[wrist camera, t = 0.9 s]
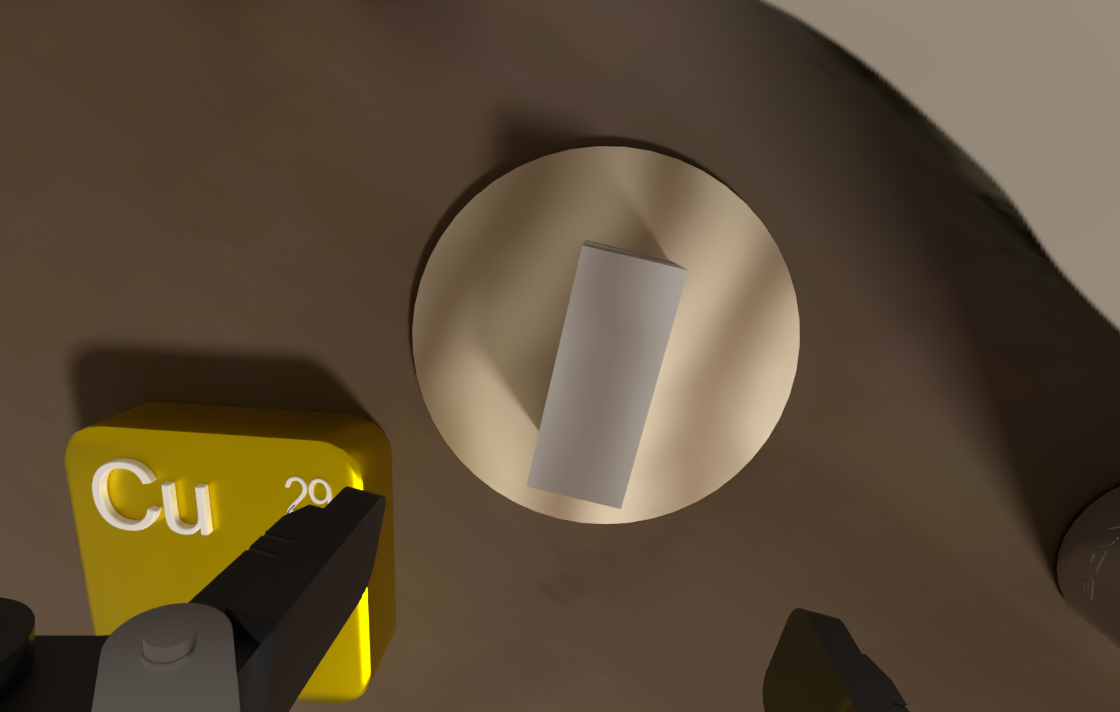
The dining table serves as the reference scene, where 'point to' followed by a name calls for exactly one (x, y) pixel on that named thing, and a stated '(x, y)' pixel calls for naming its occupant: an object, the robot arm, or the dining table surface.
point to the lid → (606, 335)
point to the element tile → (223, 511)
